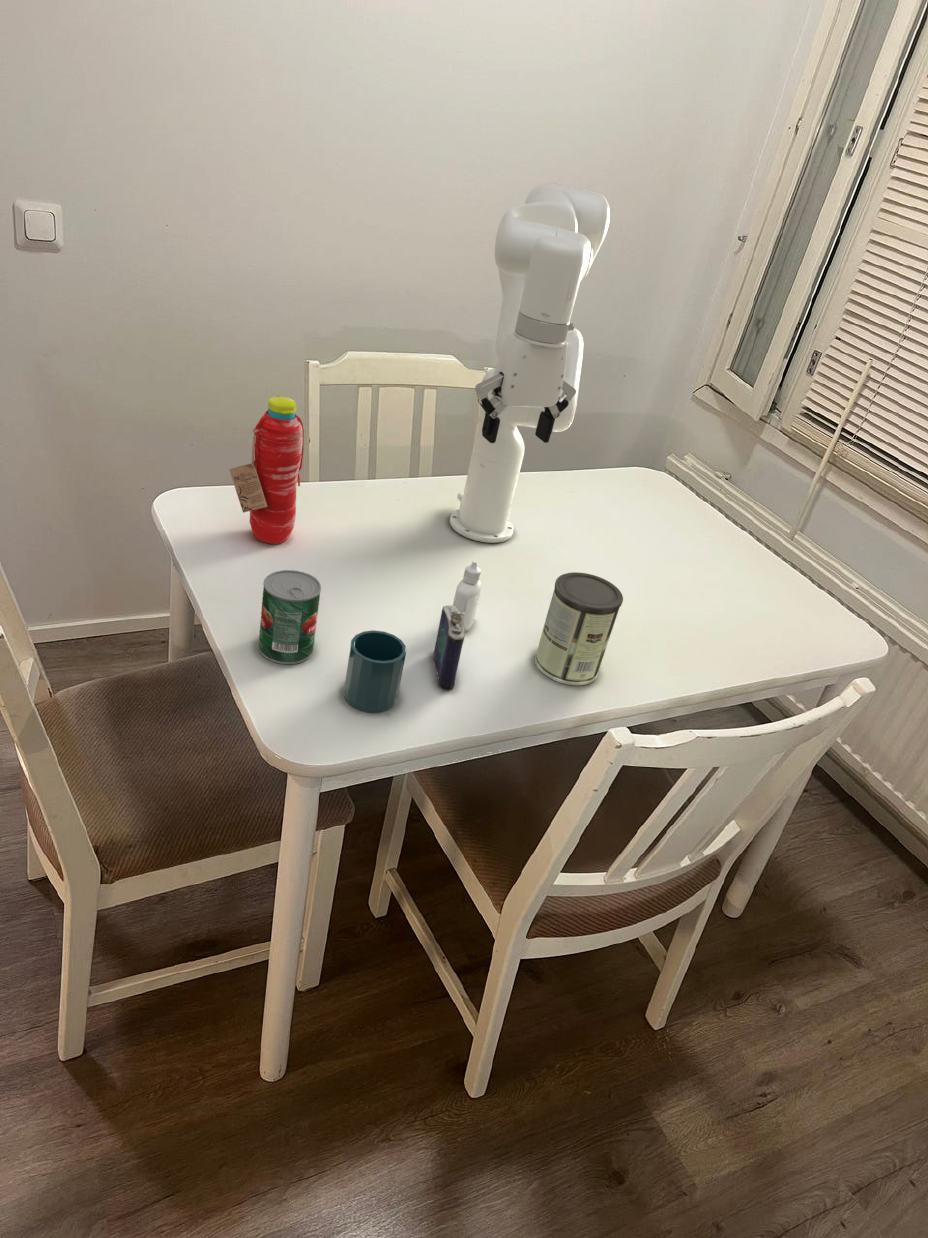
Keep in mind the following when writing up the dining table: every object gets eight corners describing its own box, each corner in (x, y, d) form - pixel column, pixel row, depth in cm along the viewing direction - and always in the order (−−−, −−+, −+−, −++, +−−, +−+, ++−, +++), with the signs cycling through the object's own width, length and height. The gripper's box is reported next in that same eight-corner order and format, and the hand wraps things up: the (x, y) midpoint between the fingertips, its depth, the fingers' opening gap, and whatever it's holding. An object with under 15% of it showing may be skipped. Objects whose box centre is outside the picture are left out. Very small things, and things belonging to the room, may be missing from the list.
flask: (431, 652, 136) (443, 593, 130) (449, 654, 136) (463, 594, 130) (437, 690, 128) (451, 629, 122) (457, 691, 129) (472, 630, 123)
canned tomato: (250, 637, 130) (255, 572, 124) (301, 629, 134) (308, 566, 128) (268, 668, 125) (274, 603, 119) (321, 660, 129) (329, 596, 123)
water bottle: (241, 554, 149) (250, 411, 136) (220, 532, 154) (228, 392, 140) (305, 544, 156) (320, 407, 143) (284, 523, 161) (296, 389, 147)
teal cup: (336, 683, 125) (343, 633, 120) (384, 676, 128) (393, 627, 124) (354, 716, 120) (363, 666, 115) (404, 708, 123) (414, 659, 119)
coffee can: (561, 639, 146) (583, 565, 138) (610, 672, 140) (636, 597, 133) (520, 658, 139) (541, 581, 131) (570, 694, 133) (595, 616, 126)
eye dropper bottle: (482, 629, 144) (497, 565, 137) (454, 636, 140) (468, 571, 134) (466, 615, 146) (480, 551, 140) (438, 621, 143) (452, 557, 137)
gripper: (576, 323, 136) (549, 429, 145) (477, 317, 128) (455, 429, 137) (603, 340, 131) (573, 448, 140) (502, 334, 122) (477, 450, 131)
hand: (515, 439), depth 138 cm, fingers open, 9 cm apart
